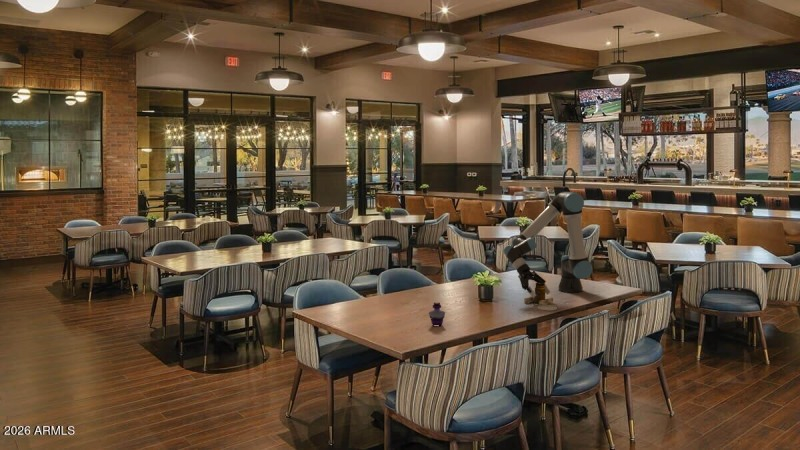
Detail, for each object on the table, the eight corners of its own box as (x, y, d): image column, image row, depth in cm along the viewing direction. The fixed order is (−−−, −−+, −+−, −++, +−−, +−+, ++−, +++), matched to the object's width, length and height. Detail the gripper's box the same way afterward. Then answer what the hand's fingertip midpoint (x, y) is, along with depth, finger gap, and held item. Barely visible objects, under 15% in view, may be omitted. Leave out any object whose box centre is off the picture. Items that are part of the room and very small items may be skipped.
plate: (545, 305, 371) (545, 303, 370) (561, 308, 362) (561, 306, 362) (533, 308, 363) (533, 306, 363) (549, 311, 355) (549, 310, 355)
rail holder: (536, 300, 385) (536, 295, 384) (553, 303, 376) (553, 298, 375) (524, 303, 377) (524, 298, 377) (540, 306, 368) (540, 301, 368)
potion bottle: (444, 322, 335) (444, 300, 334) (446, 327, 326) (446, 304, 325) (428, 323, 334) (427, 301, 333) (429, 327, 326) (429, 304, 325)
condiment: (548, 303, 376) (548, 283, 374) (538, 305, 371) (538, 285, 370) (539, 301, 382) (539, 281, 381) (529, 303, 377) (529, 283, 376)
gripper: (530, 268, 394) (550, 295, 384) (504, 273, 378) (524, 302, 368) (537, 260, 390) (558, 288, 380) (511, 265, 374) (532, 294, 364)
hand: (541, 295), depth 374 cm, fingers open, 13 cm apart
